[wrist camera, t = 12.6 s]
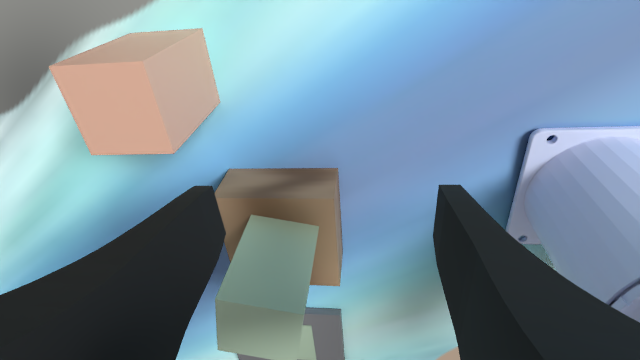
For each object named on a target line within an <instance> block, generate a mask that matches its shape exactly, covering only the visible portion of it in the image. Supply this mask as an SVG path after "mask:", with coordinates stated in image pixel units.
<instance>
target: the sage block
mask: <svg viewBox="0 0 640 360" xmlns="http://www.w3.org/2000/svg"><path fill="white" fill-rule="evenodd" d="M318 230H319V226H315V225H309V224H303V223H297V222H292V221H286V220H280V219H274V218H268V217H262V216H256V215H251V216H250V218H249V221H248V223H247V225H246V228H245V230H244V232H243V235H242V237H241V239H240V242H239V244H238V247H237V249H236V251H235V254H234V256H233V258H232V261H231V263H230V265H229V268H228V270H227V272H226V275H225V277H224V279H223V282H222V284H221V287H220V289H219V291H218V294H217V296H216V298H215V307H216V325H217V344H218V350H220V351H226V352H232V353H237V354H243V355H248V356H254V357H260V358H265V359H271V360H297V355H298V349H299V343H300V338H301V332H302V326H303V320H304V314H305V308H306V302H307V296H308V291H309V285H310V279H311V273H312V267H313V261H314V255H315V249H316V243H317V237H318Z"/></svg>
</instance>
